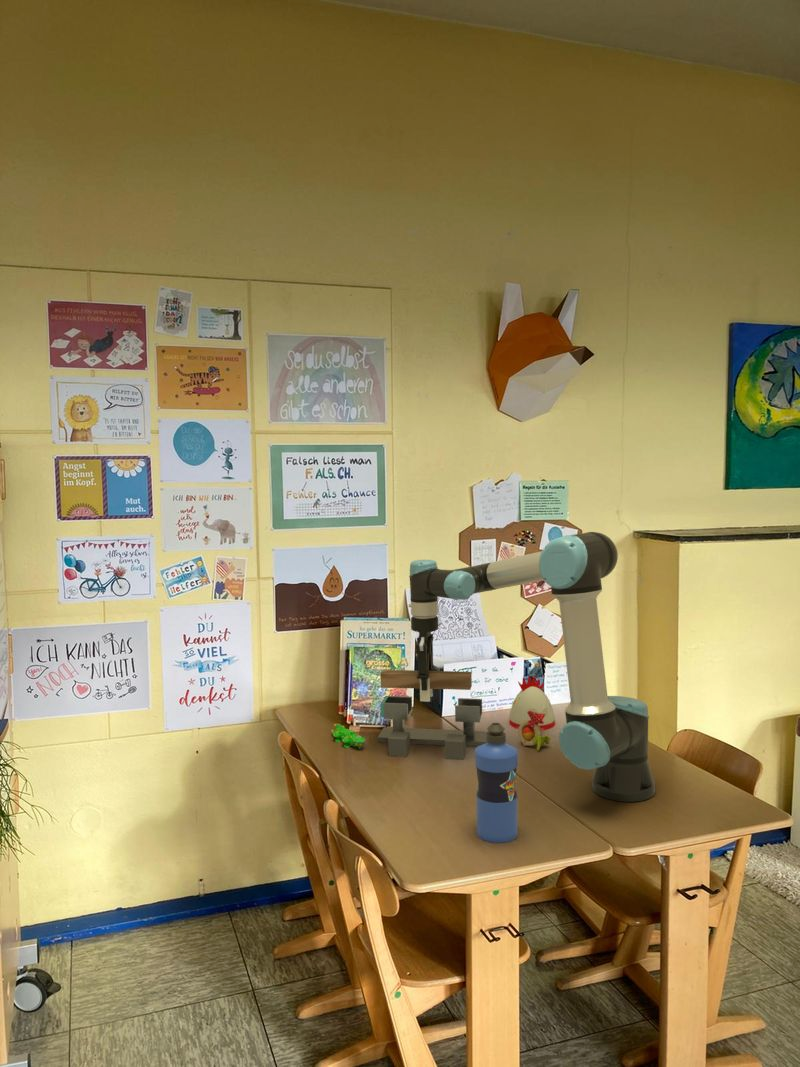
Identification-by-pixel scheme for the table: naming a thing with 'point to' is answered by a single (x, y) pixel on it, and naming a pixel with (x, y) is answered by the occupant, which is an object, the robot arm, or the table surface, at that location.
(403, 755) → the rail rest
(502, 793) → the water bottle
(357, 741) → the crocodile figurine
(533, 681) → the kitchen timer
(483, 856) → the table surface
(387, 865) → the table surface
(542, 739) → the bird rattle
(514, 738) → the table surface
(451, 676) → the walnut rail
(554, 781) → the table surface
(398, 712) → the rail stand
